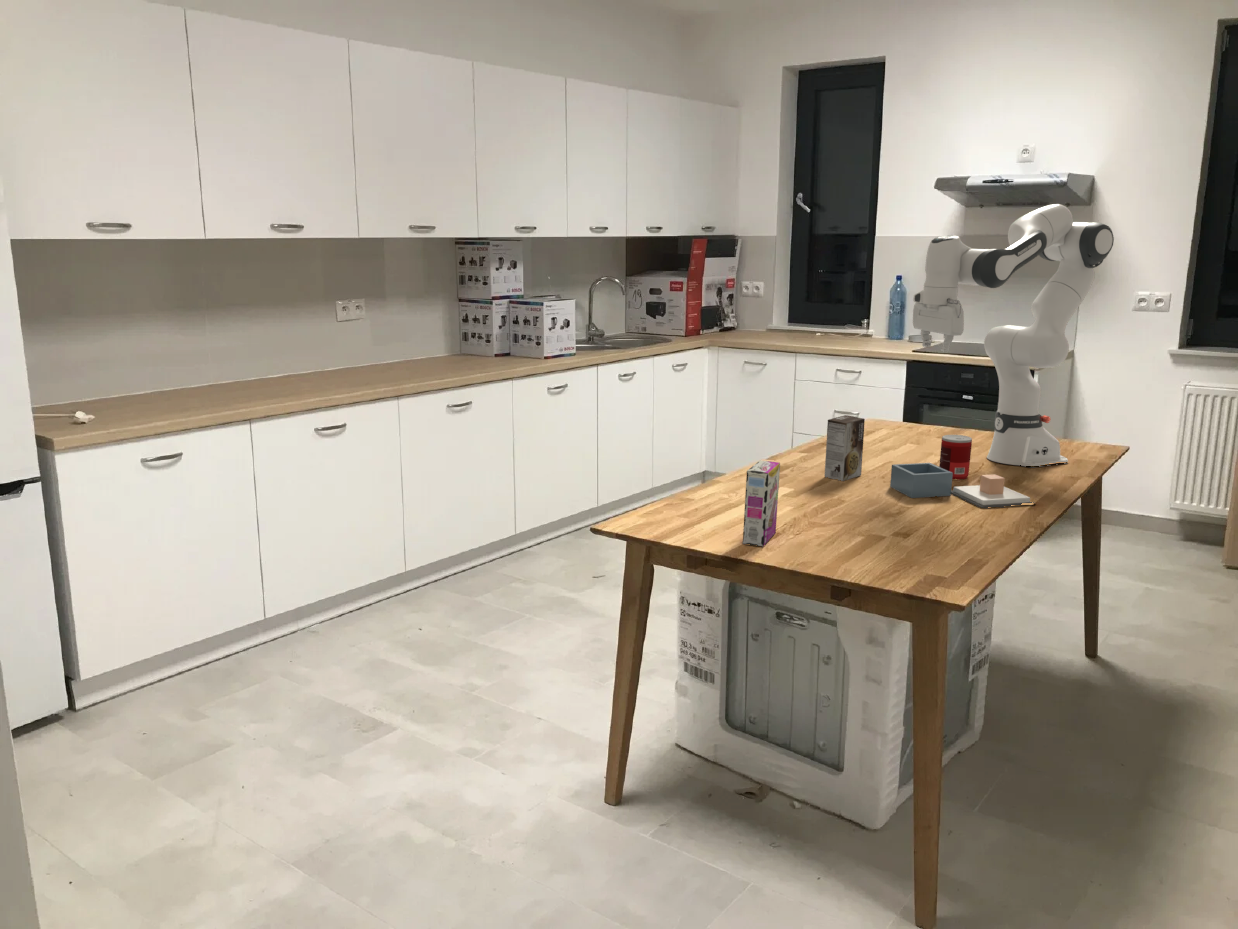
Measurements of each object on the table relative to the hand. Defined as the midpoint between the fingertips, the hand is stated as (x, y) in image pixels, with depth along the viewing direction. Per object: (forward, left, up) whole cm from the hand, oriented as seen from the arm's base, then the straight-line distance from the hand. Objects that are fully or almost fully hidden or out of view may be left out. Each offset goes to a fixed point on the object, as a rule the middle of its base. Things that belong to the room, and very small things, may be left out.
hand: (935, 348), depth 263 cm
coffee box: (+26, +2, -34) cm, 43 cm away
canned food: (-4, +8, -34) cm, 35 cm away
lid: (-1, +30, -34) cm, 45 cm away
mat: (-1, +30, -34) cm, 45 cm away
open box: (+13, +20, -34) cm, 42 cm away
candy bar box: (+68, +49, -34) cm, 91 cm away
